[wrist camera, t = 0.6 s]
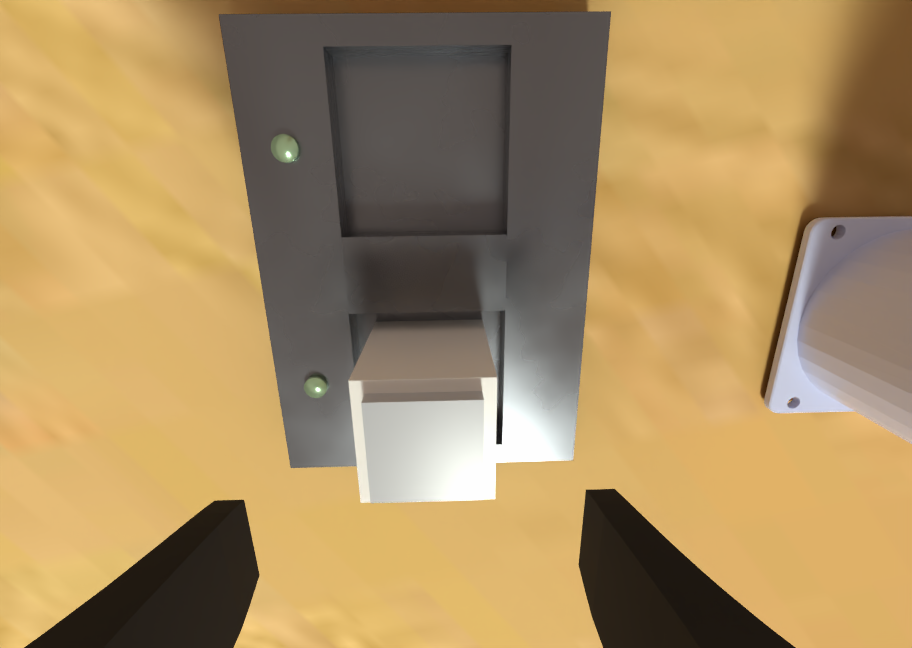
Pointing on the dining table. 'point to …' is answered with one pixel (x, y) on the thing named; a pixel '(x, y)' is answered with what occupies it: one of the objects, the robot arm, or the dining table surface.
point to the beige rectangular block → (425, 412)
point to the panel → (422, 201)
